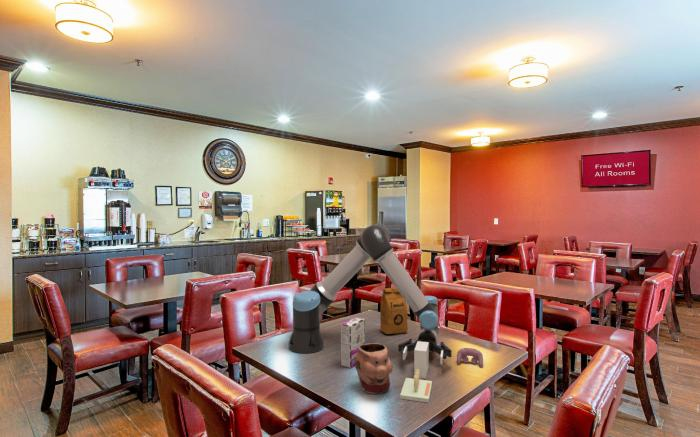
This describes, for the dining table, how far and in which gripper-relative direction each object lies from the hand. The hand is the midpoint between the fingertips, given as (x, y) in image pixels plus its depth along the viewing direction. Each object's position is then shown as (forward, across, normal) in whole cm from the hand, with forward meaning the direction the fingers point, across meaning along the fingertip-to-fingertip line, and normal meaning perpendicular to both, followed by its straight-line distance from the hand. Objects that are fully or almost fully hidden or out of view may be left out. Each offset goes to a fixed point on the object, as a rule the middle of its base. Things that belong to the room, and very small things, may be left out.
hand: (422, 358), depth 143 cm
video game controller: (-15, -17, -6) cm, 23 cm away
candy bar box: (-3, +27, -6) cm, 28 cm away
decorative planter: (+14, +15, -6) cm, 22 cm away
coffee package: (-44, +18, -6) cm, 48 cm away
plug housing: (-1, 0, -6) cm, 6 cm away
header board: (+14, 0, -6) cm, 15 cm away
